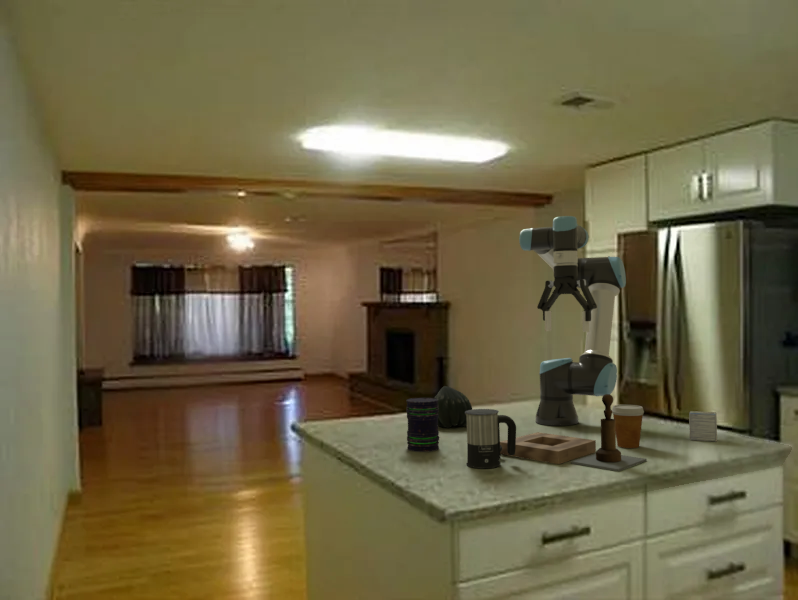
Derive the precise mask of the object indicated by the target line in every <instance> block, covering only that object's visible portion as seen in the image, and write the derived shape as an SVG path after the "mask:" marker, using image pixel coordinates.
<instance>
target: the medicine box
mask: <svg viewBox="0 0 798 600" xmlns="http://www.w3.org/2000/svg"><path fill="white" fill-rule="evenodd" d="M717 418H718V417H717V412H716V411H700V410H699V411H696V410H694V411H693V410H690V411H689V414H688V419H689V420H688V422H689V423H688V427H689V441H699V442H700V441H701V442H702V441H703V442H716V443H717V441H718V426H717V425H718V422H717V421H718V419H717Z"/></svg>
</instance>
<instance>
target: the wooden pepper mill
mask: <svg viewBox="0 0 798 600" xmlns="http://www.w3.org/2000/svg"><path fill="white" fill-rule="evenodd" d="M601 402H602V404H603V406H604V410H603V414H604V418H600V447H599V448H598V449H596V452H595V453H596V460H598V461H603V462H619V461H621V455H622V451H620V450H619V449H618V448H617V438H616V431H615V419H614V418H612V416H613V413H612V406H613V403H614V397H613V395H611V394H605V395H603V396H601Z"/></svg>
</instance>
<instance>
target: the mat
mask: <svg viewBox="0 0 798 600" xmlns="http://www.w3.org/2000/svg"><path fill="white" fill-rule="evenodd" d="M645 462H647V458H644V457H643V458H642V457H638V456H637V457H636V456H630V455H625V454H621V461H619V462H603V461H598V460H596V452H595V453H592V454H589V455H586V456H583V457H580V458H576V459H573V460H570V464H573V465H578V466H583V467H590V468H597V469H602V470H607V471H614V472H621V471H624V470H625V469H628V468H629V469H630V468H632V467H634V466H637V465H639V464H642V463H645Z"/></svg>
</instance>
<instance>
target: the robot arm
mask: <svg viewBox="0 0 798 600" xmlns="http://www.w3.org/2000/svg"><path fill="white" fill-rule="evenodd" d="M518 238H519V246H520V248H521V250H523V251H524V252H525V251H529V252H531V251H533V252H535V253H536V255H538V256H539V258H541V259H542V260H543V261H544V262H545V263H546V264H547V265H548V266H549V267H550V268H551V269H552V272H553V277H554V280H545V284H544V289H543V292H542V294H541V297H540V299H539V302H538V303H537V310H541V311H542V320H543V321H544V331H545V332H552V330H553V329H552V322H553V321H552V319H553V318H552V311H551V310H550V309H551V308H552V306H553V305H554V304H555V302H556V301H557V299H558V298H559V297H560V296H561V295H572V296H573V297H574V299H575V300H576V301H577V302H578V303H579V304H580V306H581V307H582V309H583V310H582V313H581V317H582V319H581V321H582V328H581V329H582V333H586V336H585V343H584V345H585V346H584V352H583V353H582V354H580V355H579V359H578V361H574V360H573V358H571V357H565V358H555V359H548V360H543V361H541V363H539V364H540V365H539V374H538V375H539V399H540V401H539V404H538V407H537V410H536V413H535V423H536V424H540V425H544V426H558V427H559V426H561V427H562V426H563V427H564V426H572V425H577V424H579V416H578V413H577V412H578V411H577V410H576V407H575V404H574V395H576V396H577V395H578V396H592V397H593V396H594V397H603V395H605V394H610V395H611V394H612V393H613V392H614V390H615V387H616V385H617V379H618V367H617V365H616V364H615V362H614V359H613V358H612V357H611V356H610V349H611V339H612V327H613V317H614V308H615V299H616V297H617V296H618V295H619V294H620V291H621V289H623V288H625V287H626V284H627V279H626V276H627V275H626V269H625V266H624V262H623V259H621V257H619V256H610V255H607V256H600V257H599V256H598V257H597V256H596V257H578V250H579V249H581V248H584V247H585V246H587V243H588V242H589V238H590V237H589V232H588V231H587V229H585V228H584V227H583V226H581V225H579V224H578V219H577V217H576V216H572V215H561V216H556V217H554V218H553V220H552V226H545V227H531V228H524V229H522V230H520V232H519V237H518ZM553 287H554V289H553ZM552 289H553V290H552ZM579 289H580V290H581V292H582V293H581V292H580V290H579ZM583 296H584V297H583Z"/></svg>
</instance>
